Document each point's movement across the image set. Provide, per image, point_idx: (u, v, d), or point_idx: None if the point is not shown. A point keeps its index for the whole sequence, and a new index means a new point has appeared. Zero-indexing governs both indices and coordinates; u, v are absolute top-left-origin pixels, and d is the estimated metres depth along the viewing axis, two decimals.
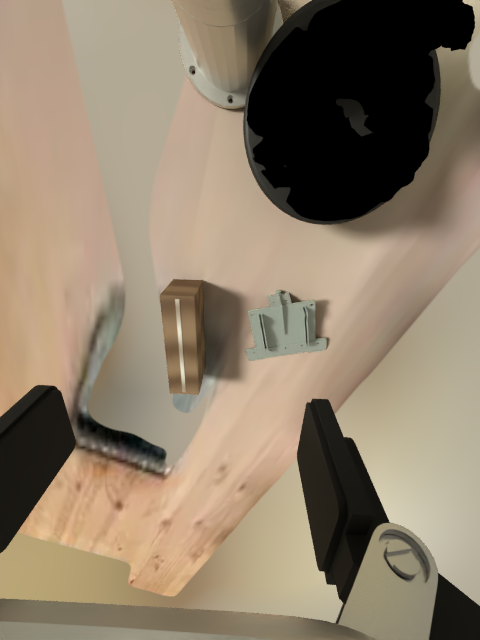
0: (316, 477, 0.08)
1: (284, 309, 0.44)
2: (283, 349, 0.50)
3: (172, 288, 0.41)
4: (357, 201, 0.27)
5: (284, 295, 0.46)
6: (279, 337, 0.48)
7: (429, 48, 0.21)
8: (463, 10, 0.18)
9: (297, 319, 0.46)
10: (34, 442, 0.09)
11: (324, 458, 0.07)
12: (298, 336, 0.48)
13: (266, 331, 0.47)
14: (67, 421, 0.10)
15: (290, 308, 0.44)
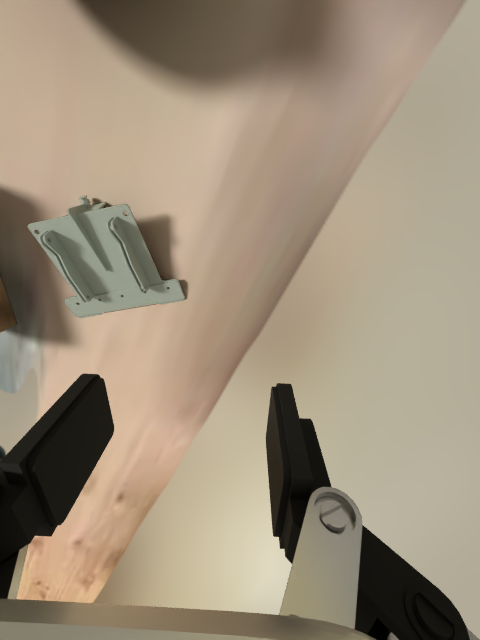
0: (274, 453, 0.09)
1: (84, 222, 0.27)
2: (119, 298, 0.34)
3: None
4: None
5: (96, 205, 0.29)
6: (104, 277, 0.32)
7: None
8: None
9: (116, 242, 0.29)
10: (84, 426, 0.09)
11: (278, 433, 0.08)
12: None
13: (77, 265, 0.31)
14: (108, 408, 0.11)
15: (93, 220, 0.27)
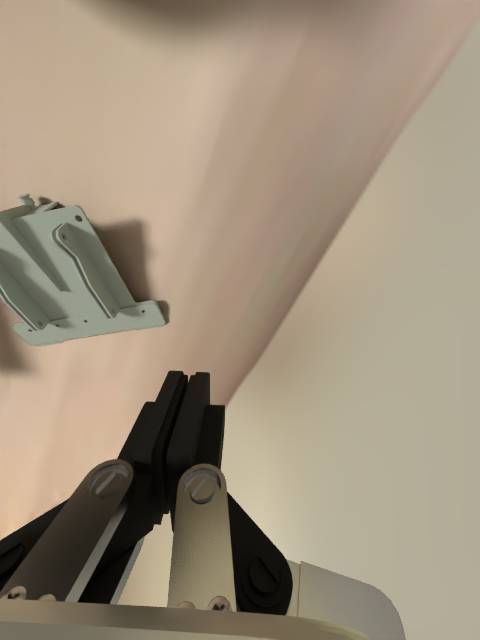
0: None
1: (24, 230, 0.20)
2: (83, 324, 0.27)
3: None
4: None
5: (43, 206, 0.22)
6: (59, 298, 0.25)
7: None
8: None
9: None
10: None
11: (178, 417, 0.09)
12: None
13: (23, 285, 0.24)
14: None
15: (36, 227, 0.20)
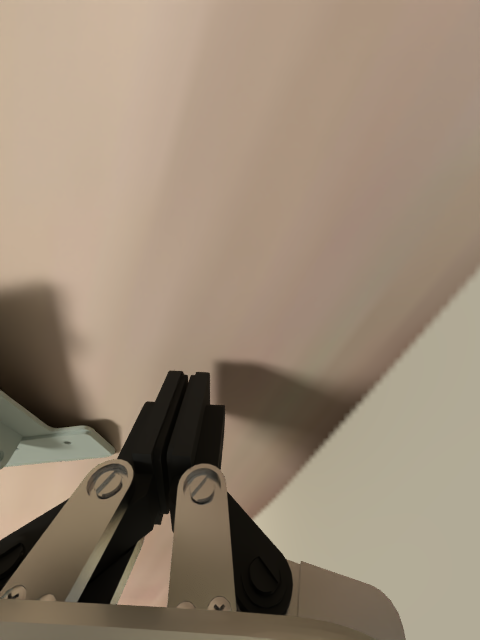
0: None
1: None
2: None
3: None
4: None
5: None
6: None
7: None
8: None
9: None
10: None
11: (178, 417, 0.09)
12: None
13: None
14: None
15: None
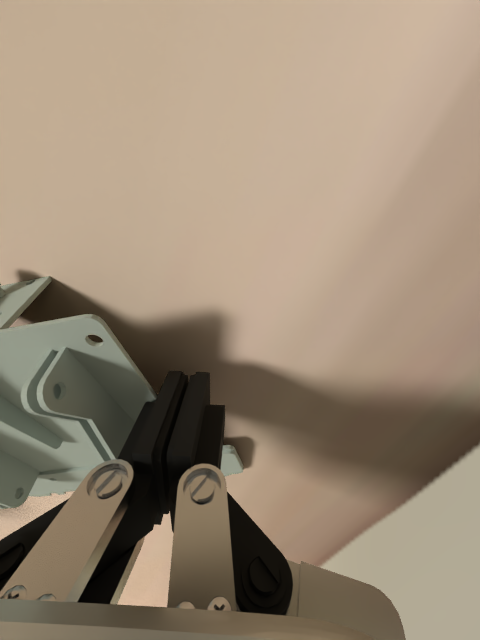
0: None
1: None
2: None
3: None
4: None
5: (18, 292, 0.10)
6: (55, 450, 0.13)
7: None
8: None
9: None
10: None
11: (178, 417, 0.09)
12: None
13: None
14: None
15: None
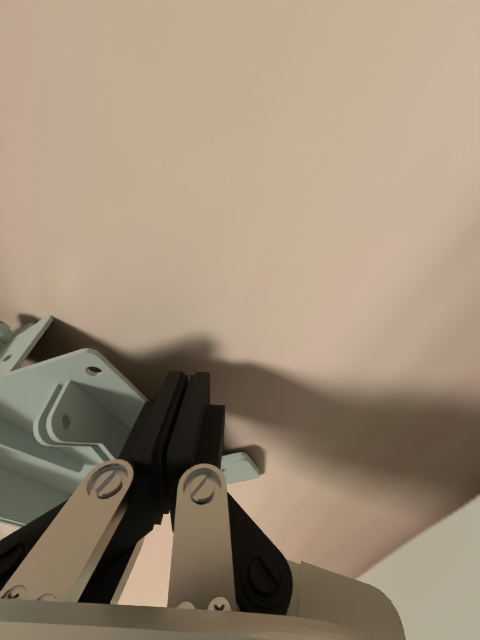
0: None
1: None
2: None
3: None
4: None
5: (26, 332, 0.11)
6: (79, 473, 0.14)
7: None
8: None
9: None
10: None
11: (178, 417, 0.09)
12: None
13: (12, 467, 0.13)
14: None
15: (9, 396, 0.09)
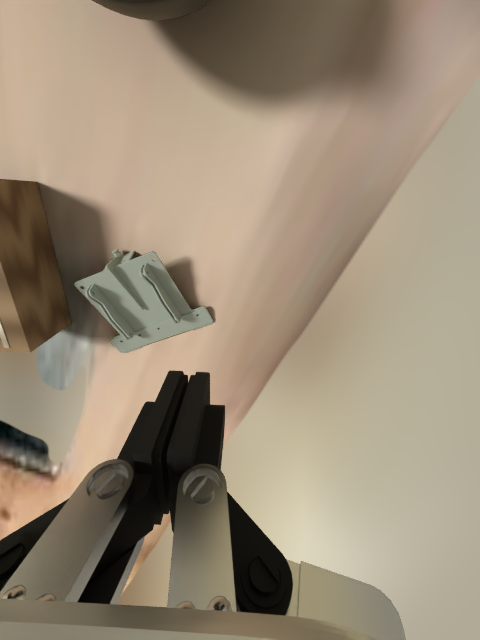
0: None
1: (120, 272, 0.32)
2: (156, 331, 0.38)
3: None
4: None
5: (126, 255, 0.33)
6: (141, 315, 0.36)
7: None
8: None
9: (148, 284, 0.33)
10: None
11: (178, 417, 0.09)
12: None
13: (118, 309, 0.35)
14: None
15: (127, 269, 0.31)
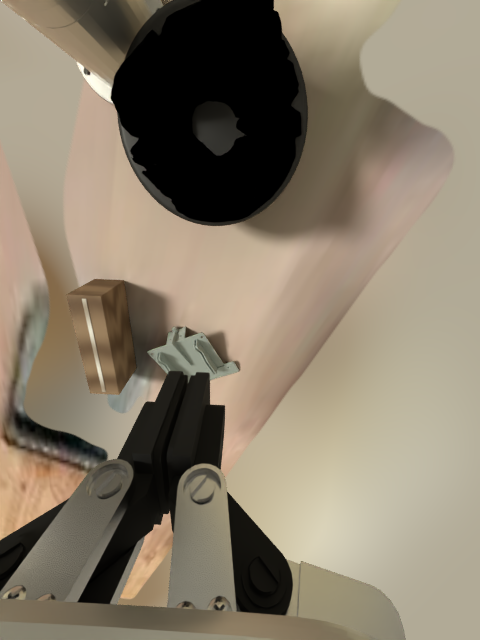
0: None
1: (179, 345, 0.47)
2: None
3: (85, 288, 0.41)
4: (225, 203, 0.27)
5: (181, 330, 0.49)
6: (189, 368, 0.51)
7: (263, 52, 0.22)
8: (269, 15, 0.19)
9: (196, 351, 0.49)
10: None
11: (178, 417, 0.09)
12: None
13: (174, 365, 0.51)
14: None
15: (184, 343, 0.47)
